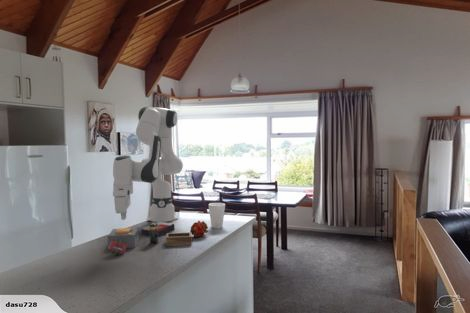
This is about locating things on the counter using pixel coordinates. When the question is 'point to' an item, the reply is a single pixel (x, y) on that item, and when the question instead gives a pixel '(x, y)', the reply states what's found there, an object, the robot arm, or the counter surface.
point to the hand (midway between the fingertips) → (123, 219)
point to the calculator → (160, 228)
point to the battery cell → (153, 233)
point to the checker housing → (125, 237)
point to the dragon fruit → (199, 229)
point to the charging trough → (178, 239)
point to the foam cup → (216, 214)
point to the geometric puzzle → (117, 246)
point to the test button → (123, 231)
